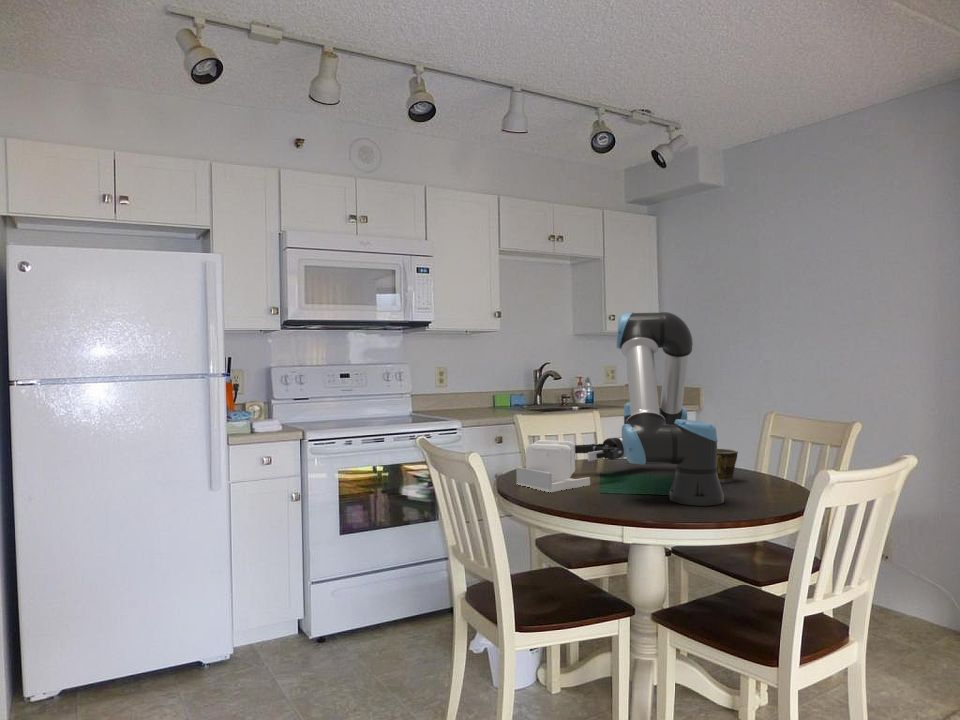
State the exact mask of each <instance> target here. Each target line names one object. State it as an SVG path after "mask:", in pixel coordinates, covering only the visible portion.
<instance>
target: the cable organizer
mask: <svg viewBox="0 0 960 720" xmlns="http://www.w3.org/2000/svg"><path fill="white" fill-rule="evenodd" d="M575 445H576V444H575V443H574V442H573V441H570V440H551V439H549V440H548V439H539V440H536V441H534V442H533V443H530V444H529V445H527V447H526V448H525V460H526V462H525V466H526V467H525V468H527V469H533V470H538V471H543V472H548V473H552V479H553V480H558V481H562V480H563V479H568V478H571V477H572V476H573V474H574V473H575V471H576V453H575Z"/></svg>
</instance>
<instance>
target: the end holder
mask: <svg viewBox="0 0 960 720" xmlns="http://www.w3.org/2000/svg"><path fill="white" fill-rule="evenodd" d="M515 469H516V470H515V471H516V475H515V476H516V485H517V484H518V485H521V486H520V487H522V486H526V487H525V488H527V487H530V488H529V489H531V488H533V489H532V490H535V489H537V490H536V491H540V490H541V491H540V492H544V491H545V492H544V493H548V492H549V493H550V492H551V493H555V492H561V490H562V491H566V489H567V490H571V489H572V488H573V489H577V488H582V487H583V486H584V487H589V486H591V477H589V476H588V477H581V478H576V479H575V478H571V477H569V478H568V479H563V480H562V481H558V480H553V479H552V473H548V472H543V471H538V470H533V469H527V468H526V467H522V466H516V468H515ZM518 485H517V486H518Z"/></svg>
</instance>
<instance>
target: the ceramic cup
mask: <svg viewBox="0 0 960 720" xmlns="http://www.w3.org/2000/svg"><path fill="white" fill-rule="evenodd" d="M737 458H738V451H737V450H735V449H728V448H717V475H718V479H719V482H720V484H725V483H726V484H727V483H732V481H733V479H734V473H735V467H736V465H737V464H736V463H737V461H738V459H737Z"/></svg>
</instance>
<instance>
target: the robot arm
mask: <svg viewBox="0 0 960 720" xmlns="http://www.w3.org/2000/svg"><path fill="white" fill-rule="evenodd" d="M692 336H693V335H692V333H691V330H690V328H689V327H688V325H687V324H686V322H685V321H684V320H683V319H682V318H681V317H680V316H678V315H676V314H674V313H671V312H666V311H661V312H629V313H627V312H626V313H622V314H621V315H620V316H619V317H618V324H617V334H616V348H617V349H620V350H621V353H622V355H623V356H624V357H626V367H627V380H628V384H627V385H628V397H629V398H628V399H629V402H626V403H624V407H623V424H622V425H621V436H615V437H611V438H610V437H609V438H606V439H605V440H603V442H602V443H598V444H595V443H590V444H574V445H575V454H587V461H588V462H590V461H597V460H603V459H605V460H618V459H620V460H624V458H625V459H626V460H627V462H629V463H630V464H633V465H634V464H635V465H642V466H645V465H675V474H674V477H673V480H672V483H671V488H670V489H669V500H670V501H671V502H674V503H676V504H681V505H686V506H696V507H697V506H699V507H700V506H701V507H703V506H707V507H708V506H717V505H721V504H723V503H724V502H725V494H724V492H723V488H722V484H721V482H719V479H718V475H717V449H718V441H719V440H718V434H717V428H716V426H715V425H713V424H712V423H708V422H705V421H700V420H699V421H698V420H693V419H688V410H687V409H686V408H685V407H683V404H684V403H683V402H684V394H685V387H686V379H687V377H686V376H687V367H688V360H689V356H690V355H692V351H693V345H694V344H693V337H692ZM661 348H662V349H661ZM659 349H661V350H662V352H663V353H664V360H663V361H664V362H663V371H662V372H663V373H662V383H661V384H662V385H661V394H660V395H661V396H660V405H659V395H658V386H657V385H658V384H657V373H656V364H655V355H656V353H657V352H658V350H659Z"/></svg>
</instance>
